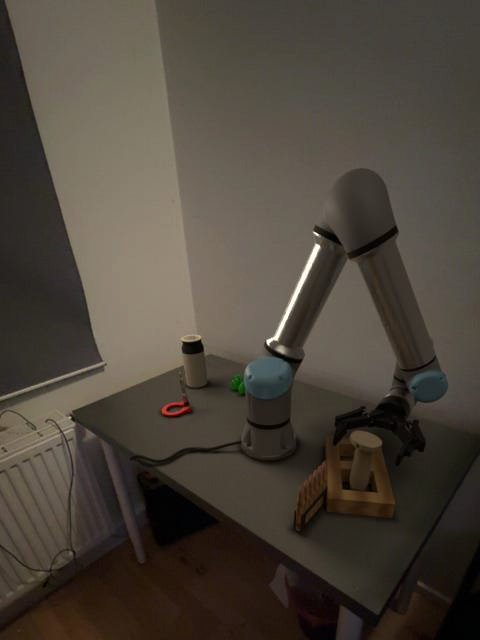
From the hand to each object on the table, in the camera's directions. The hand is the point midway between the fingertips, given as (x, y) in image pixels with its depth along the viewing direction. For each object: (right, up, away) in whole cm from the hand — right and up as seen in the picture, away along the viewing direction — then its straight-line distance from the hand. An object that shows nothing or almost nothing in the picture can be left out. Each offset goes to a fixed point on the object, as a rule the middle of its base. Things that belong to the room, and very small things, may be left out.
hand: (364, 450), depth 74 cm
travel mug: (-43, +21, +59) cm, 76 cm away
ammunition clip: (-12, -14, 0) cm, 18 cm away
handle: (0, -10, +5) cm, 11 cm away
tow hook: (-48, +10, +42) cm, 65 cm away
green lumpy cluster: (-23, +19, +54) cm, 61 cm away
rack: (+1, -7, +9) cm, 12 cm away
